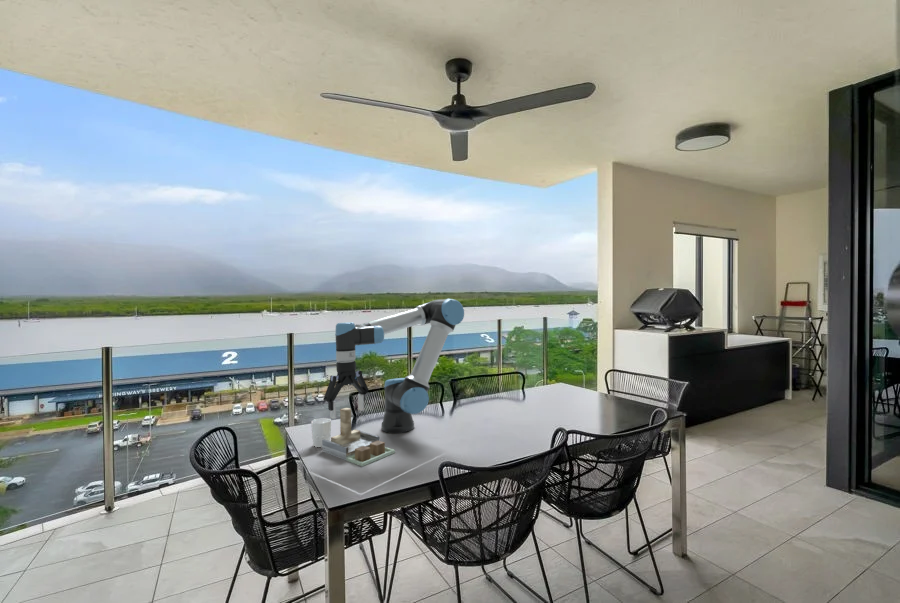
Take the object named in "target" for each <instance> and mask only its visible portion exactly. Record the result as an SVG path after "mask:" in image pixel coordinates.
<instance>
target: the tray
mask: <svg viewBox="0 0 900 603" xmlns="http://www.w3.org/2000/svg"><path fill="white" fill-rule="evenodd" d="M395 453H396V450H395V449H393V448H390V447H386V446H385V453H383V454H381V455H379V456H375V455H372V454H370V455H371V459H369V460H366V461H364V462H361V461H358V460H355V454H354V455H352V456H349V457H347V458H346V460H345V461H346V462H349V463H352V464H354V465H358V466H360V467H364V466H367V465H369V464H371V463H374V462H375V461H378V460H380V459H383V458H385V457H388V456H391V455H393V454H395Z"/></svg>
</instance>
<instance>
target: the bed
mask: <svg viewBox="0 0 900 603" xmlns="http://www.w3.org/2000/svg"><path fill="white" fill-rule="evenodd" d="M359 431H360V438H359V439H356V440H353V441H351V442H348V443H345V444H342V445H340V444H337V443H334V442H331V440H330V441H328V440H325V439H324V440H322V447H321V448H322V452H323V453H326V454H328V455H330V456H333V457H336V458H339V459H340V460H344V461H346V458H347V457H349V456H352V455H354V454H355V449H356V448H359V447H361V446H366V447H369V448H370V443H372V442H375V441H380V436H379V435H376V434H373V433H368V432H366V431H363V430H359Z"/></svg>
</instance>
